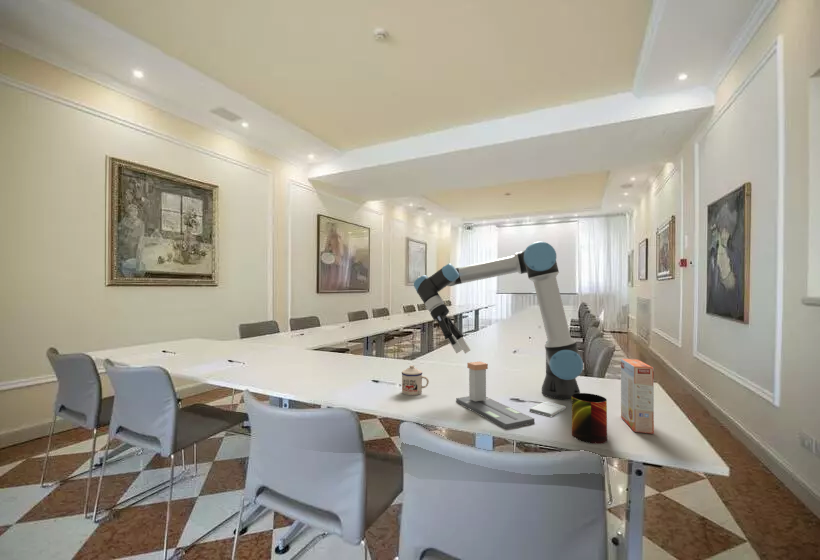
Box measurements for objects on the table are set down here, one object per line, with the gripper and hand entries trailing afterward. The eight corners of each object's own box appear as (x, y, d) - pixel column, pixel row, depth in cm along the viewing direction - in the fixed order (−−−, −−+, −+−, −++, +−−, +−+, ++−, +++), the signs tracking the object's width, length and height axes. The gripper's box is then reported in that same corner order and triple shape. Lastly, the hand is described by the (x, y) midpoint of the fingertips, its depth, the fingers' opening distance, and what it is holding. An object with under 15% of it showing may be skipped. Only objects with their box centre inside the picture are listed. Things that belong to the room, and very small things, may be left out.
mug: (602, 428, 116) (601, 391, 117) (610, 446, 103) (609, 404, 104) (569, 424, 120) (569, 388, 120) (573, 441, 107) (573, 400, 107)
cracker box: (655, 434, 111) (654, 367, 112) (633, 432, 113) (632, 365, 113) (639, 419, 125) (639, 358, 125) (620, 417, 126) (619, 357, 127)
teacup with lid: (398, 394, 153) (398, 367, 153) (405, 388, 162) (405, 362, 162) (425, 397, 149) (425, 369, 150) (431, 391, 158) (431, 364, 158)
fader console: (456, 402, 143) (456, 397, 143) (481, 398, 148) (481, 394, 148) (506, 428, 116) (506, 423, 116) (534, 423, 121) (534, 418, 121)
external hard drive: (529, 412, 132) (544, 404, 141) (551, 418, 127) (565, 409, 135) (529, 408, 132) (544, 400, 141) (551, 413, 127) (565, 405, 135)
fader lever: (467, 398, 141) (467, 362, 141) (480, 396, 144) (480, 361, 144) (474, 402, 137) (474, 365, 137) (487, 400, 139) (487, 363, 139)
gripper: (439, 316, 165) (463, 356, 157) (419, 310, 142) (447, 356, 134) (452, 307, 163) (478, 347, 155) (434, 299, 141) (463, 345, 133)
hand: (463, 351), depth 145 cm, fingers open, 13 cm apart
